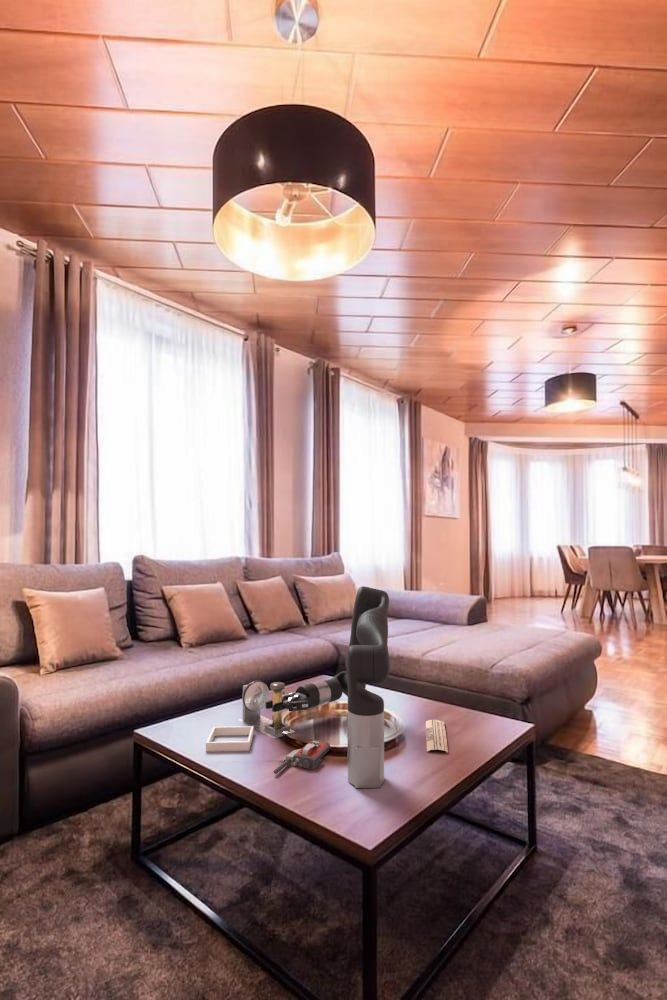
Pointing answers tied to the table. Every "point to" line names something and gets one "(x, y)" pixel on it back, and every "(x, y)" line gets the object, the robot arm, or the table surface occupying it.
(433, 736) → the newspaper
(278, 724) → the lock pin
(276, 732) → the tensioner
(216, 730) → the parts tray
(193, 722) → the table surface
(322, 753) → the walkie-talkie
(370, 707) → the robot arm
